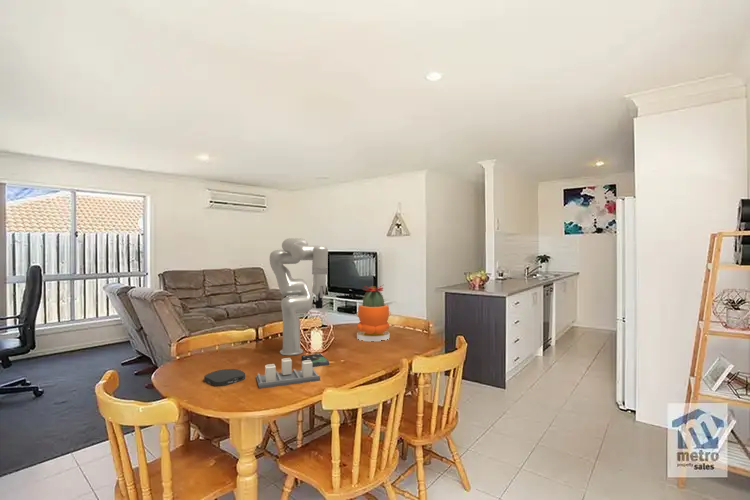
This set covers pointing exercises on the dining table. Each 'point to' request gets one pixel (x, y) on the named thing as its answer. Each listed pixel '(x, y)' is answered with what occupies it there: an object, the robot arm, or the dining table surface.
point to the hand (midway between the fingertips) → (318, 308)
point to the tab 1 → (270, 373)
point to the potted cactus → (373, 316)
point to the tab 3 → (307, 368)
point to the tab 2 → (286, 366)
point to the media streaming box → (224, 377)
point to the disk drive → (316, 359)
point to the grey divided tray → (286, 379)
